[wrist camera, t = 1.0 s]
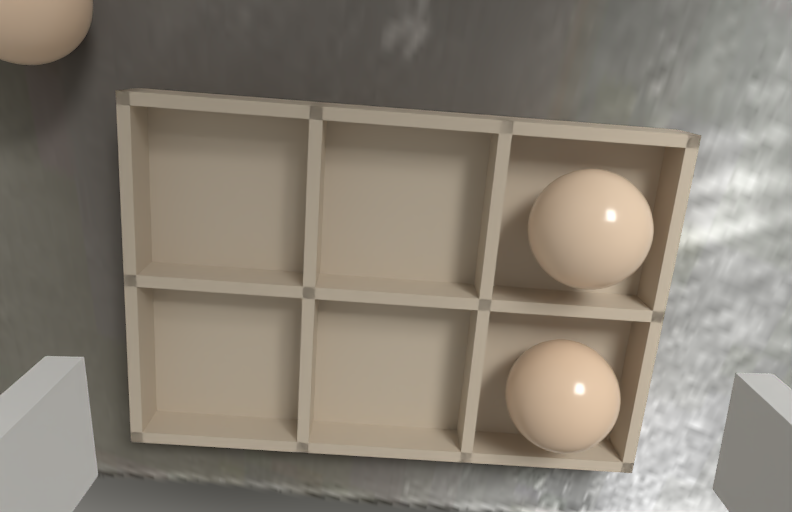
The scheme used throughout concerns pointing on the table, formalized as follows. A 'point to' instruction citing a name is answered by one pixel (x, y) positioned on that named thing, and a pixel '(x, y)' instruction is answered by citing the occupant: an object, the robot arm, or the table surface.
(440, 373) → the carton
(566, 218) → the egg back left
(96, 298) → the table surface
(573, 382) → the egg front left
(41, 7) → the egg
